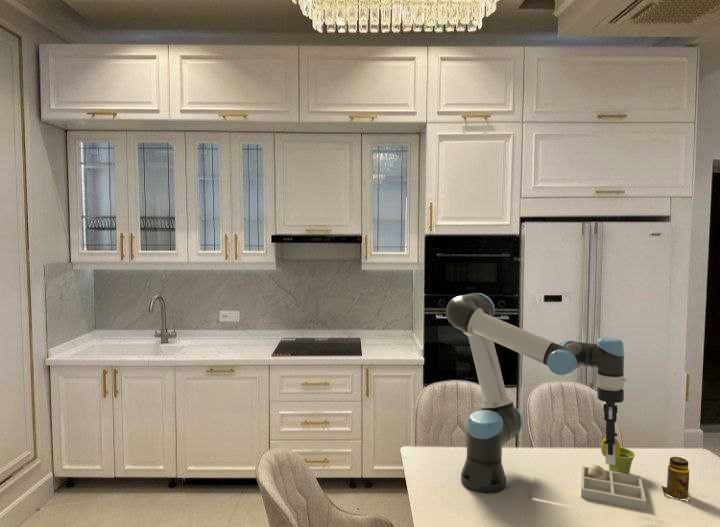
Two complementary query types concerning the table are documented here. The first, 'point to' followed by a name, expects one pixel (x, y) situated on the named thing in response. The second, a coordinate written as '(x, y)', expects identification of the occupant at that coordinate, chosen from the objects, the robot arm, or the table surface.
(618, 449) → the lemon
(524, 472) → the table surface
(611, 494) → the tray
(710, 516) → the table surface
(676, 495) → the condiment
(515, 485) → the table surface
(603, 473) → the beige rounded ball
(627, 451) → the plant pot
